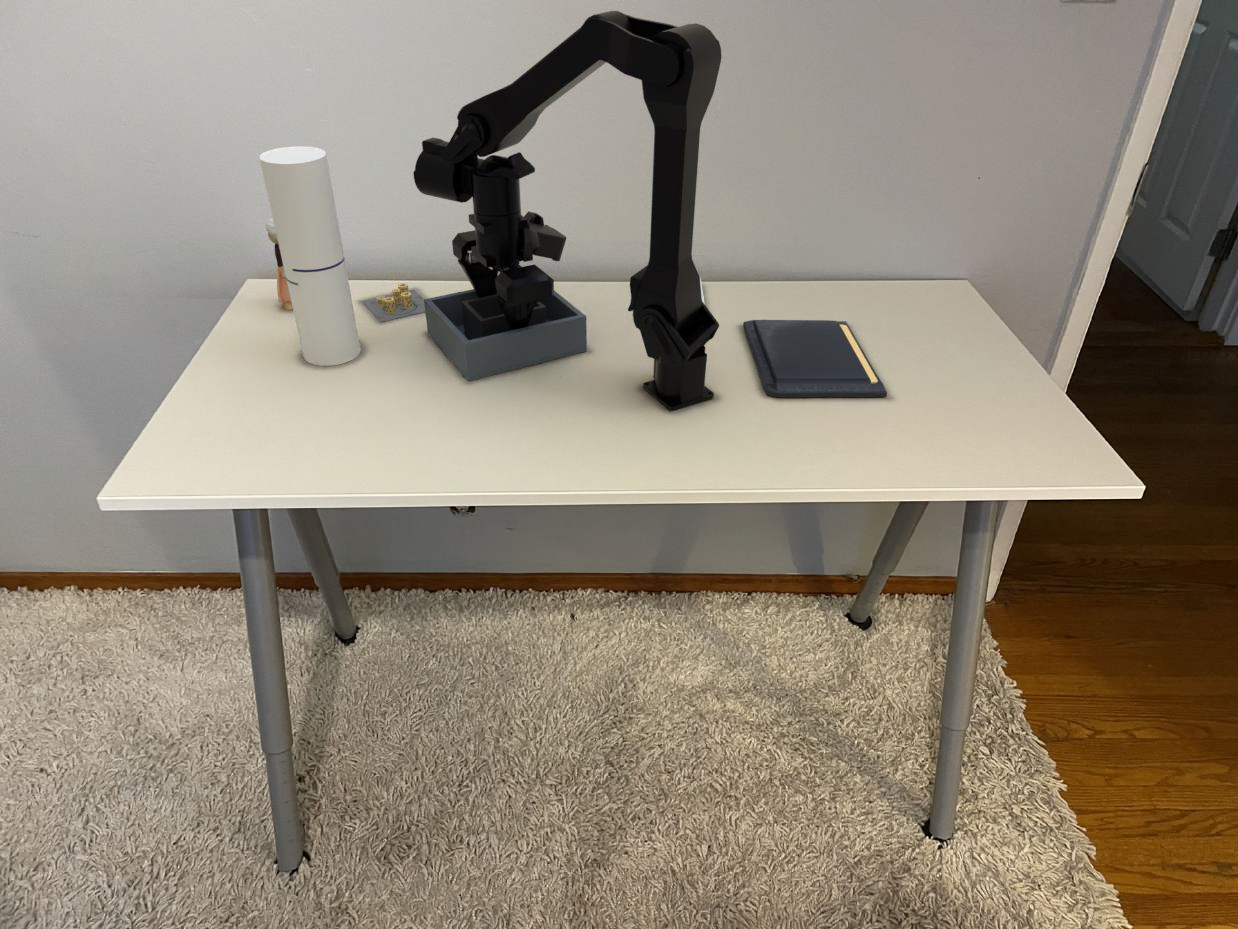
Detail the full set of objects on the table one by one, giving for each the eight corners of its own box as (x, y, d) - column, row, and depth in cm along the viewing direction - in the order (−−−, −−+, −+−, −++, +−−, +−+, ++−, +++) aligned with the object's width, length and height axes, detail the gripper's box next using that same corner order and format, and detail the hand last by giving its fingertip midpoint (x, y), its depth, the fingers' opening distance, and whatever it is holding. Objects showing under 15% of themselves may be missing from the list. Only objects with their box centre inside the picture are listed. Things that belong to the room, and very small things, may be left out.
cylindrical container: (345, 368, 106) (306, 166, 91) (292, 362, 107) (246, 161, 92) (370, 343, 111) (337, 148, 97) (320, 337, 113) (280, 144, 98)
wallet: (743, 312, 117) (852, 313, 117) (742, 324, 118) (849, 326, 118) (764, 384, 101) (890, 386, 101) (762, 397, 102) (887, 399, 102)
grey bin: (586, 351, 111) (586, 316, 108) (468, 381, 104) (464, 344, 101) (538, 309, 121) (537, 275, 118) (427, 334, 114) (423, 299, 111)
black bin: (547, 341, 112) (545, 306, 109) (483, 356, 108) (481, 321, 105) (526, 322, 116) (524, 288, 113) (464, 335, 112) (461, 301, 110)
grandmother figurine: (276, 296, 123) (256, 210, 115) (304, 292, 124) (286, 207, 117) (283, 318, 117) (263, 229, 110) (312, 313, 118) (293, 225, 111)
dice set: (407, 294, 124) (405, 282, 123) (420, 307, 121) (418, 294, 120) (374, 301, 122) (372, 289, 121) (386, 315, 118) (384, 302, 117)
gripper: (592, 222, 99) (592, 341, 108) (525, 179, 112) (530, 288, 121) (505, 237, 94) (512, 361, 103) (445, 190, 107) (456, 304, 116)
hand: (504, 325), depth 111 cm, fingers open, 9 cm apart
